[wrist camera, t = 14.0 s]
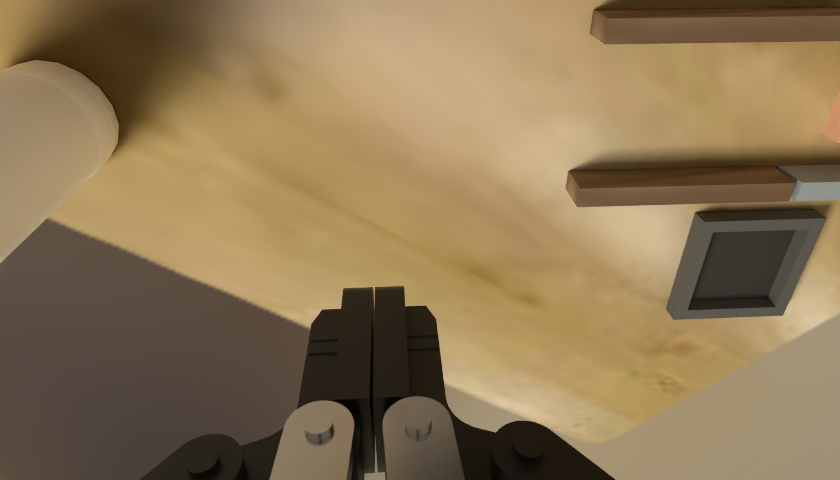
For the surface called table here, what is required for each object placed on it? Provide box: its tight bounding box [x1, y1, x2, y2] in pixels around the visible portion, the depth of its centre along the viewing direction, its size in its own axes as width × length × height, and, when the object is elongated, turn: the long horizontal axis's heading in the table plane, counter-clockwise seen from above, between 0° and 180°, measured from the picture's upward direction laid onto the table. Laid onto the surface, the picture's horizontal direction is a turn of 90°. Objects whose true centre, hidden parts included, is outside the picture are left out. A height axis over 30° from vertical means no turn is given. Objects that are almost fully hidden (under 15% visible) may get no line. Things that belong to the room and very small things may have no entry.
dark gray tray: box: [666, 209, 827, 320], centre depth 47 cm, size 10×10×2 cm
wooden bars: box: [566, 7, 840, 207], centre depth 39 cm, size 13×16×3 cm
